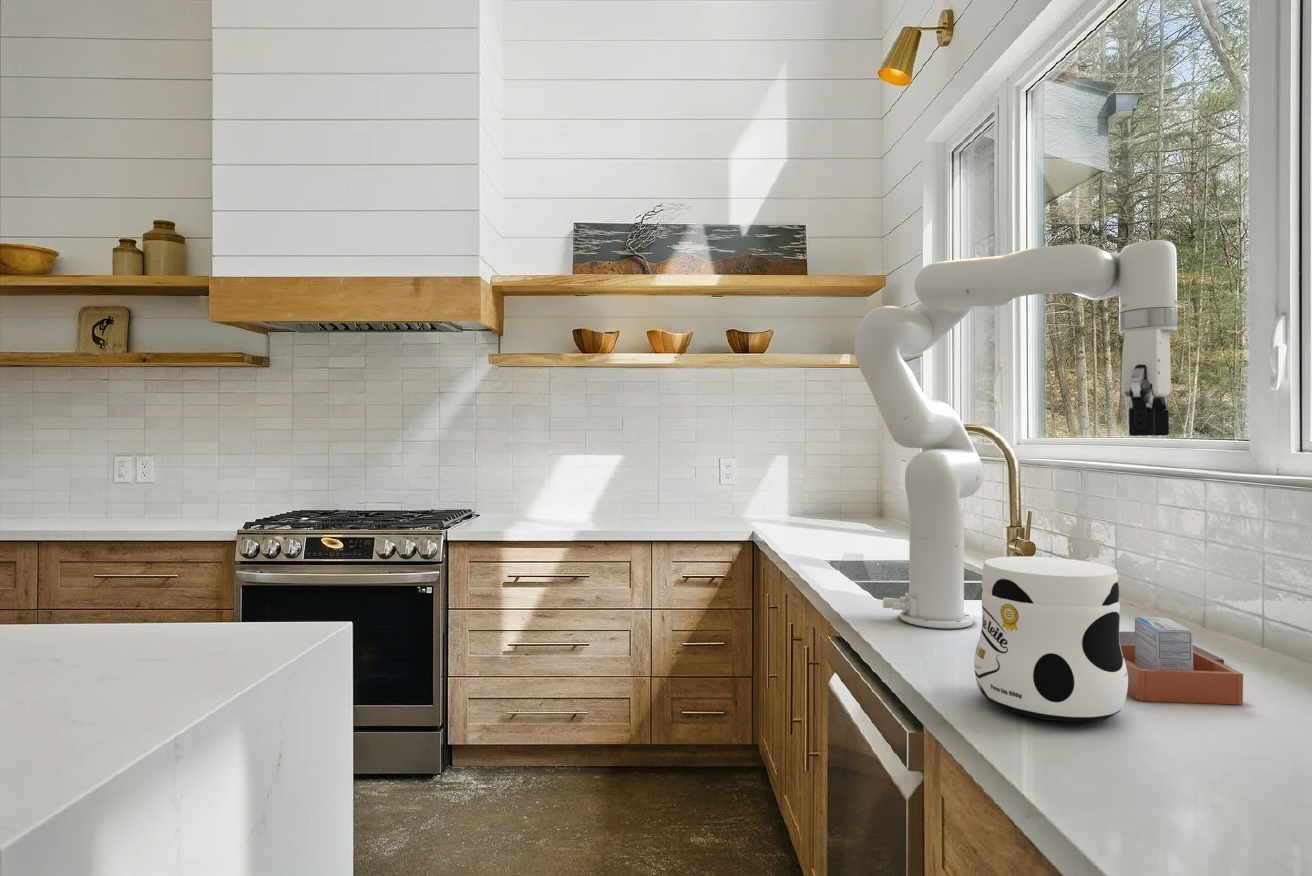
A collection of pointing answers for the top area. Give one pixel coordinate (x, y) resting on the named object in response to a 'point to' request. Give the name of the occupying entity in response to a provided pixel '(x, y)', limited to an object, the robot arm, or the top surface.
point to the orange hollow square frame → (1184, 681)
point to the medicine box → (1162, 644)
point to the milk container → (1051, 638)
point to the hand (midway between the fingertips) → (1149, 435)
